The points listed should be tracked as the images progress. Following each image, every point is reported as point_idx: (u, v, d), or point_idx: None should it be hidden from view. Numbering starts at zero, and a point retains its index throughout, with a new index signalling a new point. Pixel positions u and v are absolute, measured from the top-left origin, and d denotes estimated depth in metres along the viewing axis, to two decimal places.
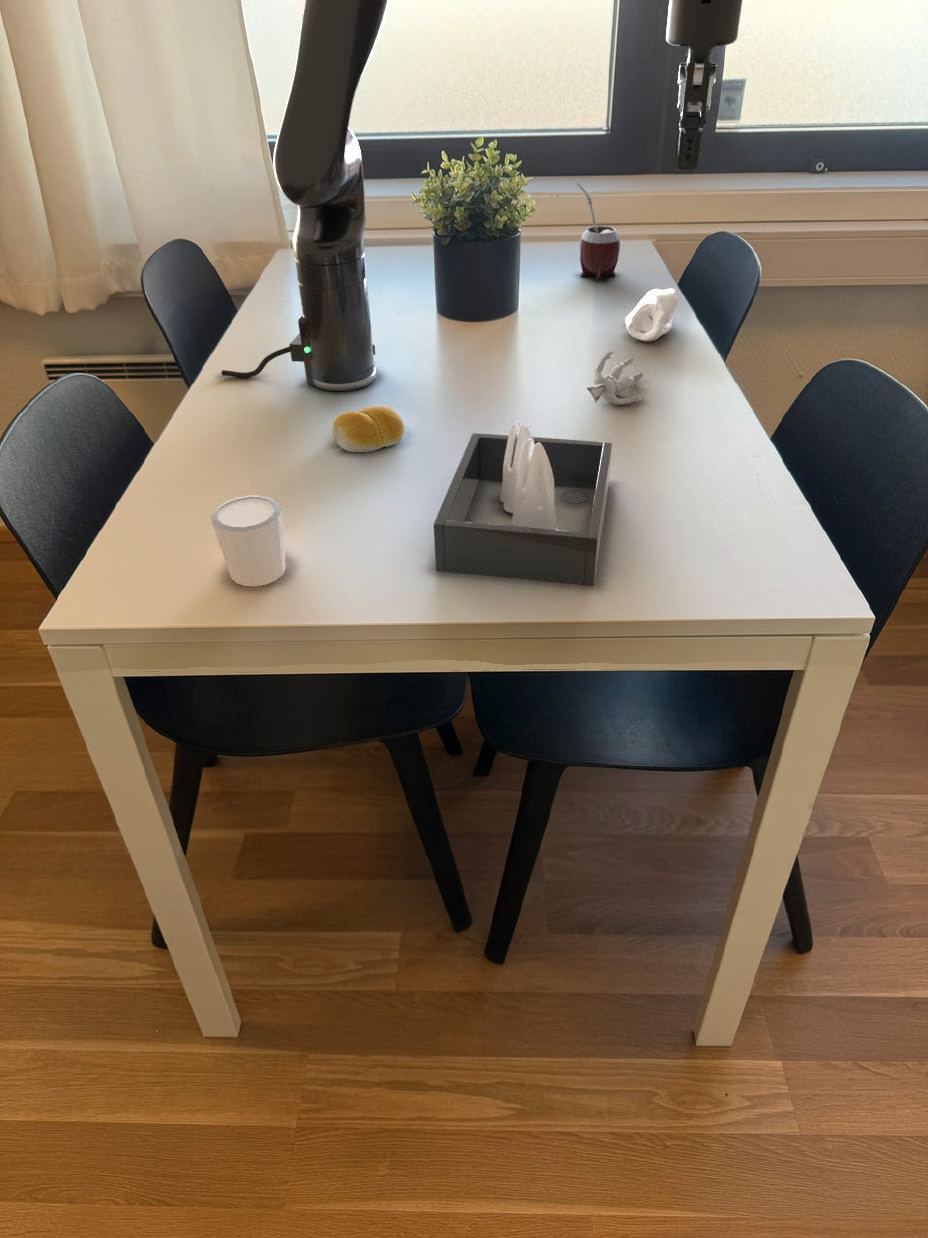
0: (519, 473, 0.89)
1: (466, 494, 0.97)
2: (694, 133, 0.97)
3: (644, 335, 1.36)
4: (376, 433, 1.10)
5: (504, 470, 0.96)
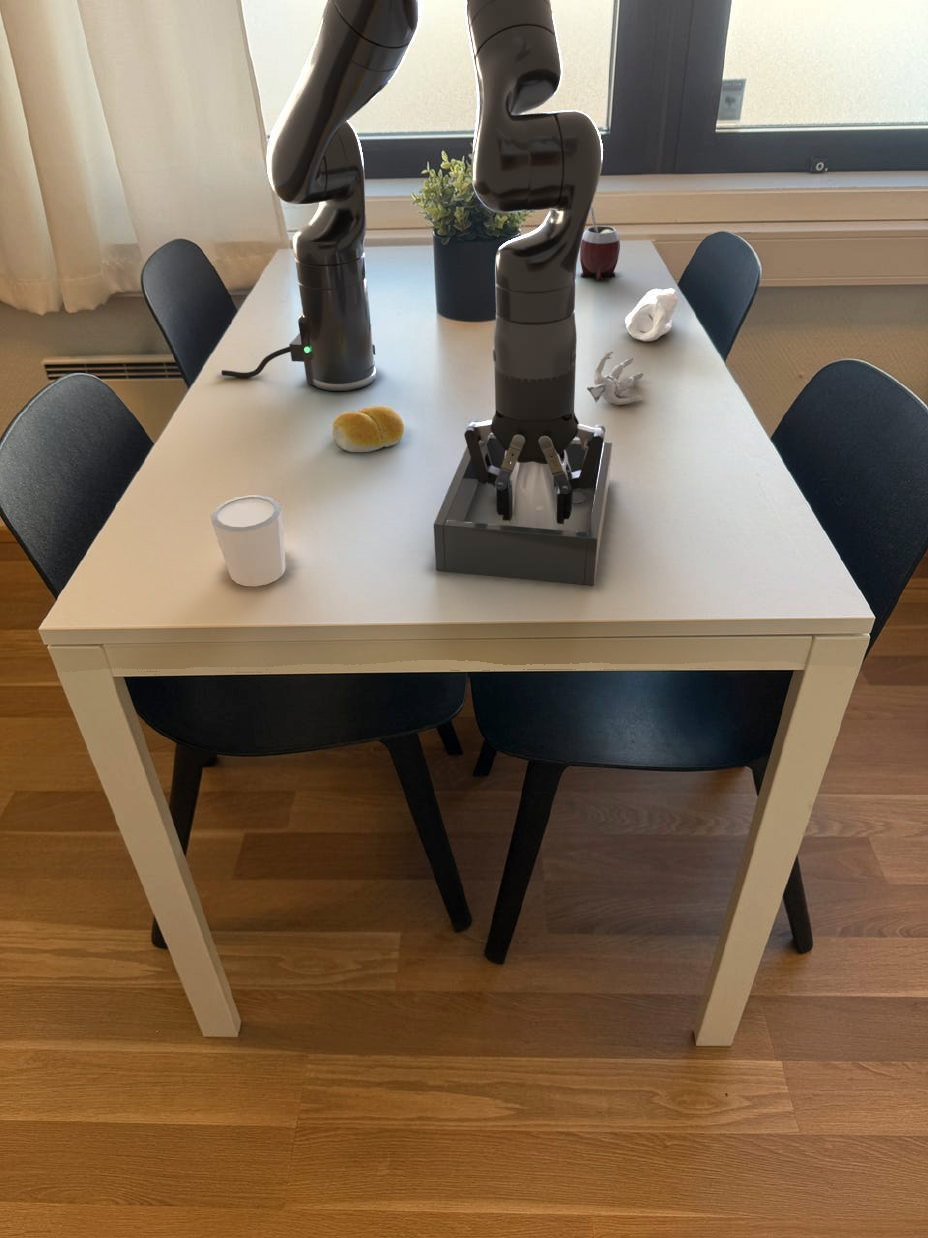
0: (519, 473, 0.89)
1: (466, 494, 0.97)
2: None
3: (644, 335, 1.36)
4: (376, 433, 1.10)
5: None
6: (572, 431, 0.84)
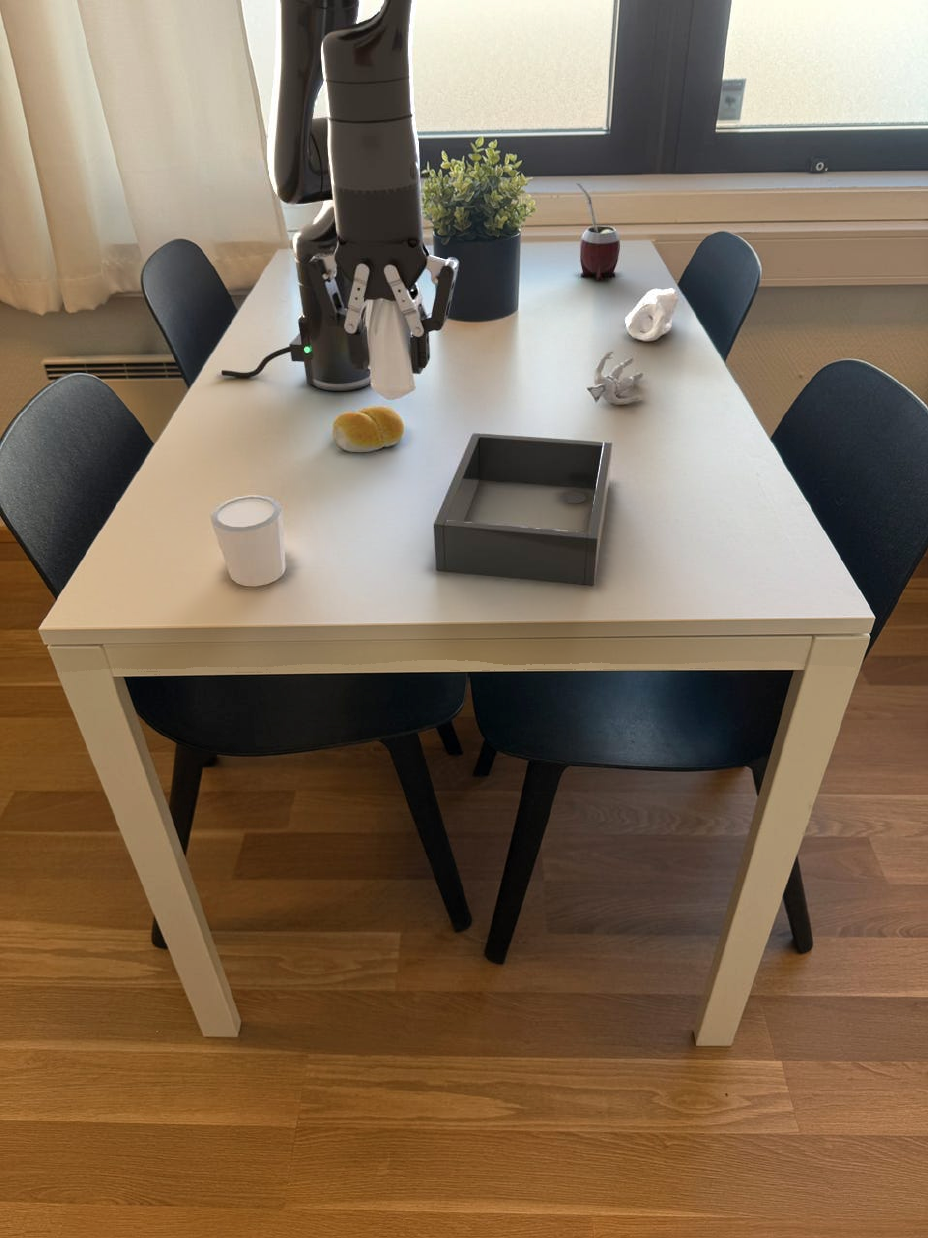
0: (371, 315, 0.82)
1: (466, 494, 0.97)
2: None
3: (644, 335, 1.36)
4: (376, 433, 1.10)
5: (366, 322, 0.89)
6: (420, 260, 0.77)
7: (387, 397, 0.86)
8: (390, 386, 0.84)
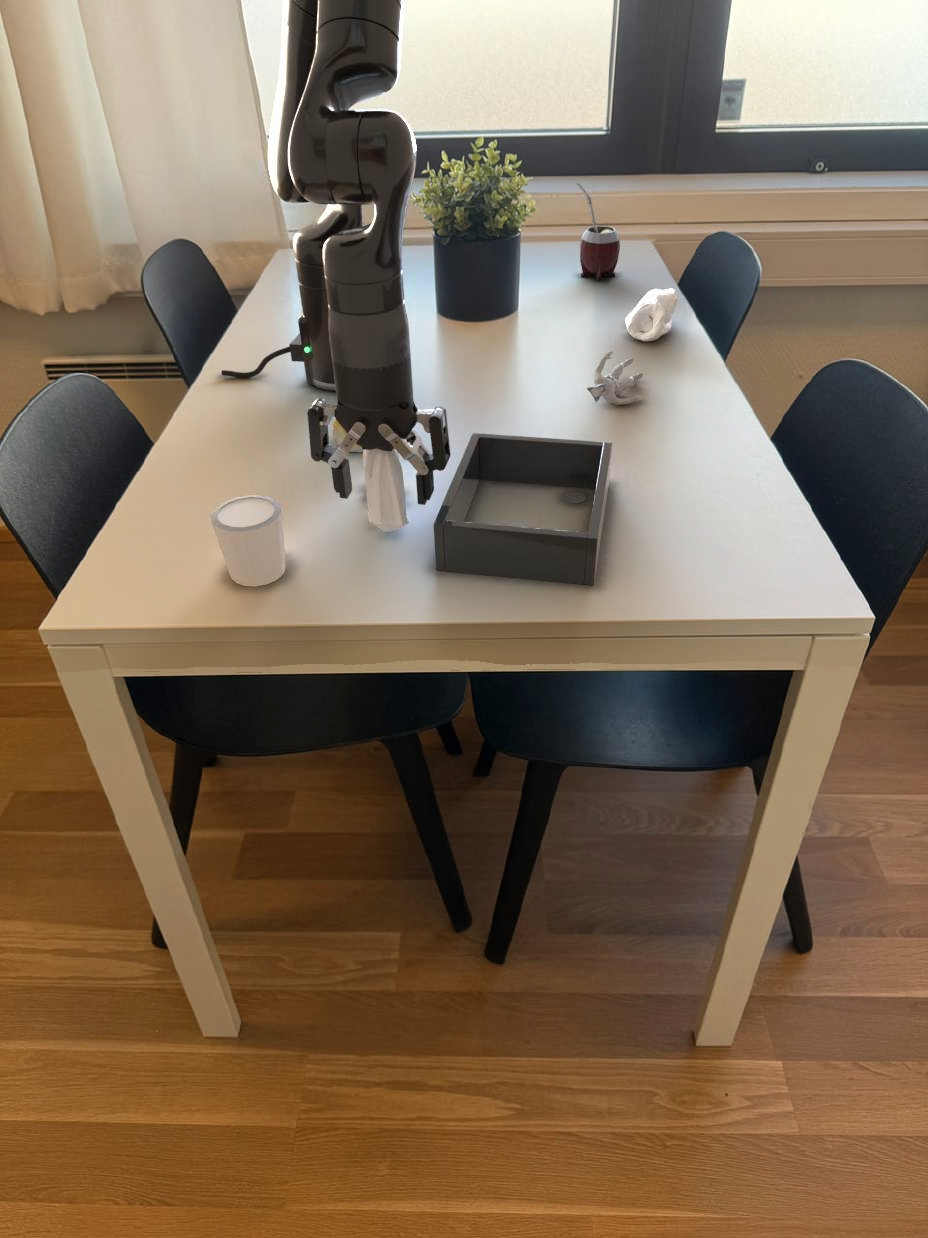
0: (367, 461, 0.92)
1: (466, 494, 0.97)
2: None
3: (644, 335, 1.36)
4: None
5: (364, 459, 0.99)
6: (410, 420, 0.87)
7: (383, 530, 0.95)
8: (385, 522, 0.94)
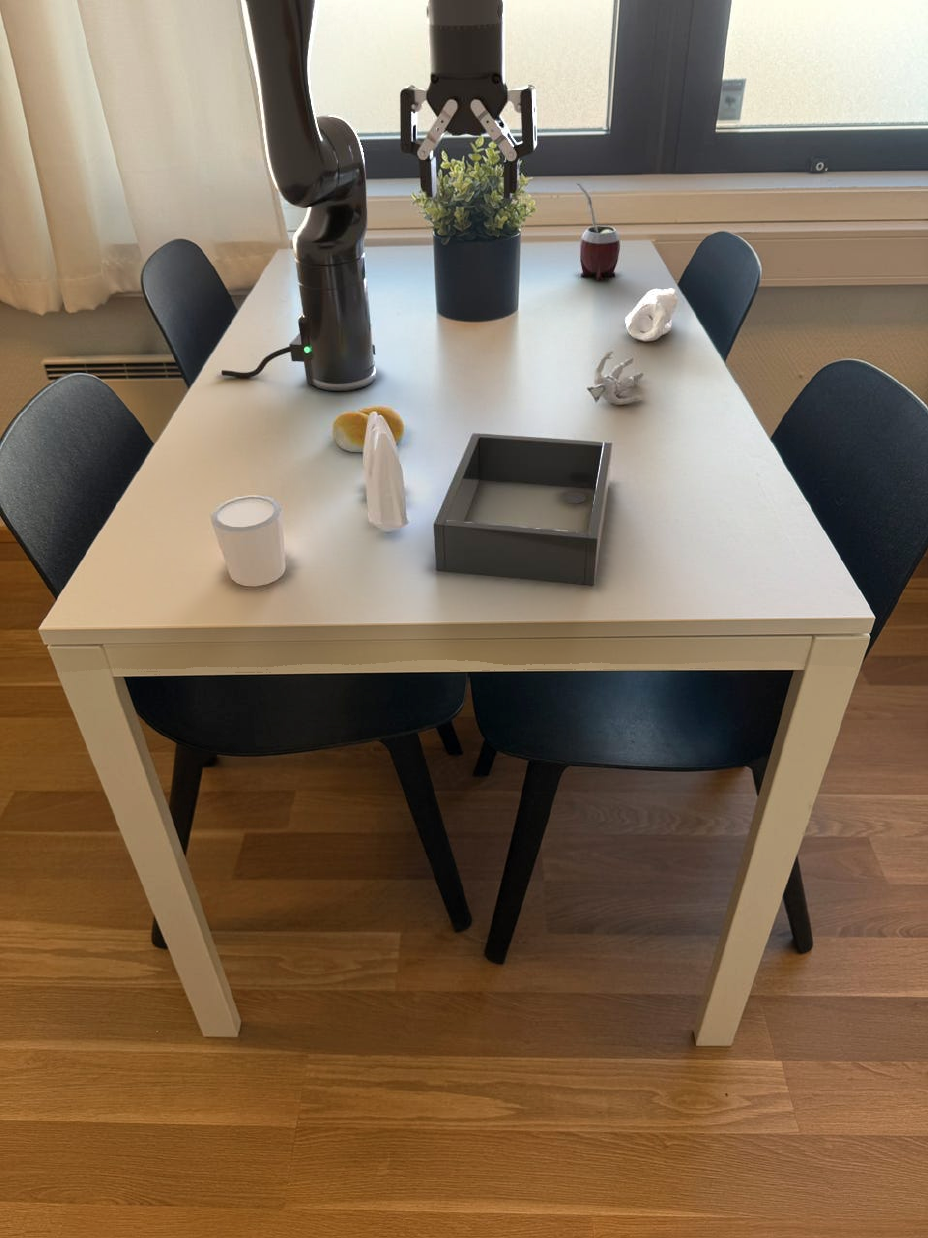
0: (367, 461, 0.92)
1: (466, 494, 0.97)
2: None
3: (644, 335, 1.36)
4: None
5: (364, 459, 0.99)
6: (502, 95, 0.89)
7: (383, 530, 0.95)
8: (385, 522, 0.94)
